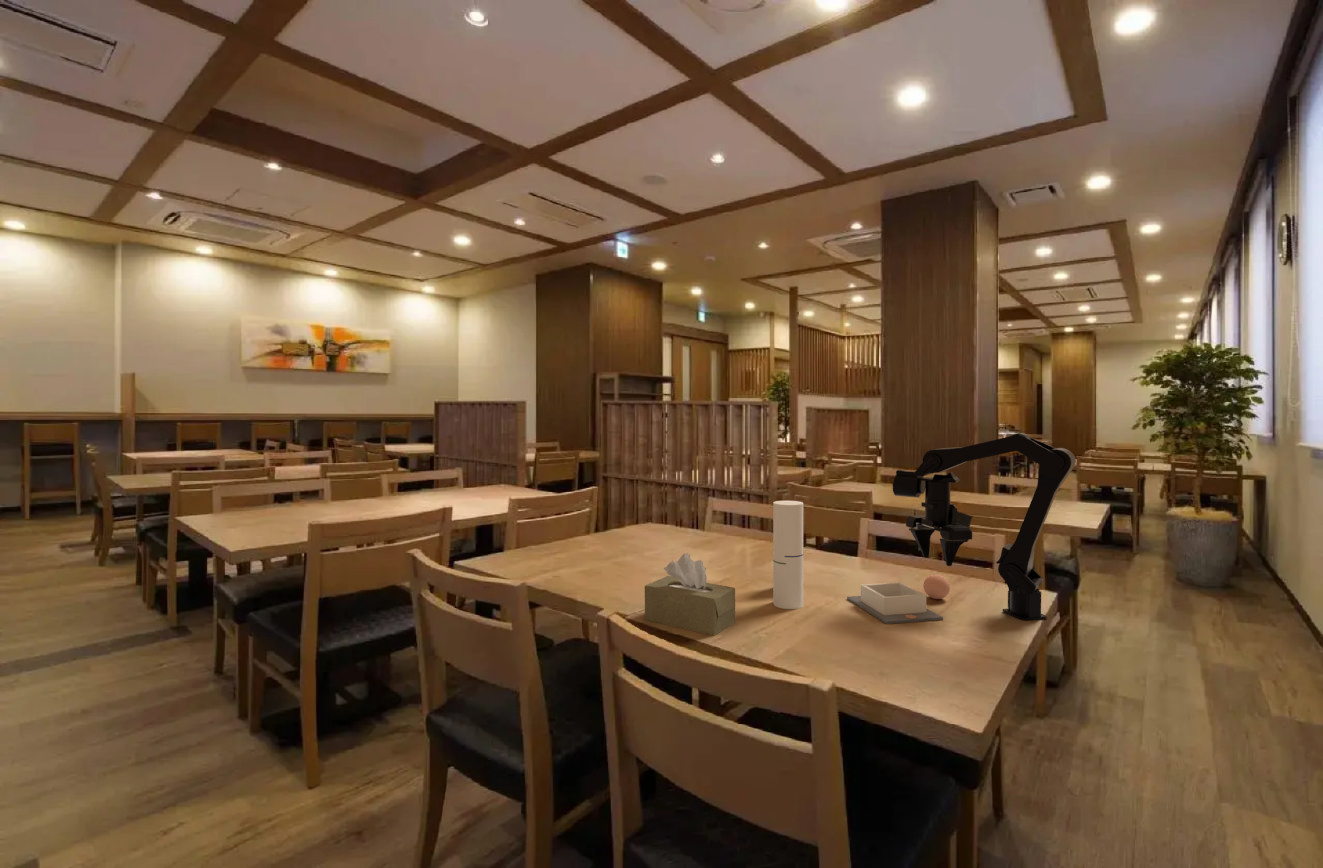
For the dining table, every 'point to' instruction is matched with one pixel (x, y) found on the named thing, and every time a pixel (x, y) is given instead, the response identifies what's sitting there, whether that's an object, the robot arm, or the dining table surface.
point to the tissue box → (690, 599)
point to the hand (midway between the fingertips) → (937, 561)
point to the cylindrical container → (788, 554)
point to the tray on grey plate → (894, 603)
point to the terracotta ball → (936, 586)
